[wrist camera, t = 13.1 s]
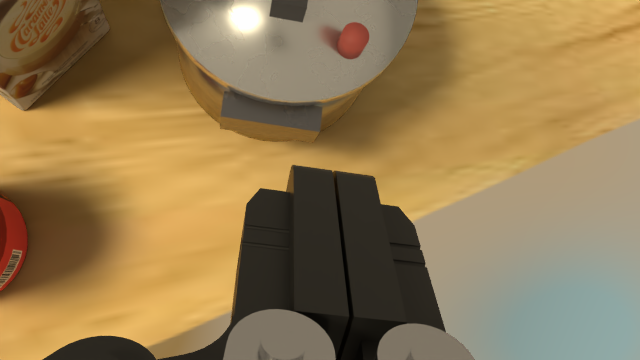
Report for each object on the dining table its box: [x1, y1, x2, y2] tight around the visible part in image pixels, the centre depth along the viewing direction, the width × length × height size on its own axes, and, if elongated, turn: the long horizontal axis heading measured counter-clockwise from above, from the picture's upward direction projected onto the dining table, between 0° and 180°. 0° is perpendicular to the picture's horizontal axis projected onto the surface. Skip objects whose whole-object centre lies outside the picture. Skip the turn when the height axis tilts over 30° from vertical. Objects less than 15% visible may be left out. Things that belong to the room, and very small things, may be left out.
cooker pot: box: [176, 41, 364, 143], centre depth 40 cm, size 17×15×10 cm
